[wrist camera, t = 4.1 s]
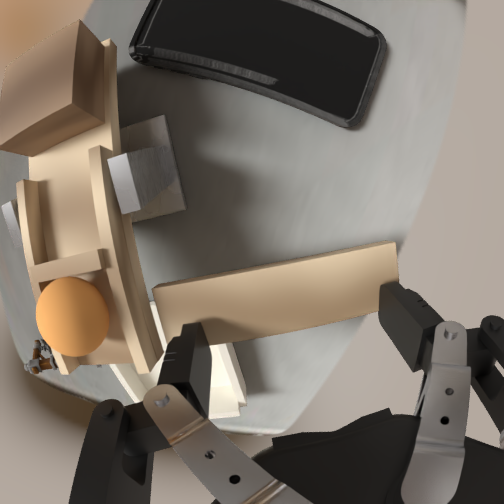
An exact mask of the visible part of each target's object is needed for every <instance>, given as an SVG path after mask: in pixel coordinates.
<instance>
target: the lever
mask: <svg viewBox="0 0 504 504" xmlns="http://www.w3.org/2000/svg"><path fill="white" fill-rule="evenodd" d="M0 150H3V151H7V152H12V153H16V154H20V155H25V156H29V178H30V180H24V179H23V180H21V181H19V182H18V183H16V186H17V200H18V211H19V220H20V228H21V235H22V241H23V247H24V253H25V258H26V263H27V268H28V273H29V277H30V281H31V285H32V289H33V293H34V297H35V301H36V304H37V303H38V299H39V297H40V295H41V293H42V292H43V290H44V289H45V288H46V287H47V286H48V285H49V284H50V283H51V282H53V281H54V280H56V279H59V278H62V277H78V278H82V279H84V280H86V281H88V282H90V283H91V284H93V285H94V286H95V287H96V288H97V289H98V290H99V291H100V293H101V294H102V296H103V297H104V299H105V301H106V304H107V307H108V311H109V328H108V332H107V335H106V337H105V339H104V341H103V342H102V344H101V345H100V346H99V347H98V348H97V349H96V350H95V351H93V352H91V353H90V354H87V355H84V356H78V357H72V356H66V355H63V354H61V353H59V352H57V351H55V350H54V349H53V348H51V350H52V352H53V355H54V358H55V360H56V363H57V365H58V367H59V370H60V372H61V374H68V375H69V374H70V373H71V372H73V371H74V370H75V369H76V368H77V367H78V366H79V365H99V364H125V363H134V364H135V367H136V369H137V372H138V374H146V373H150V372H151V371H152V369H153V368H154V366H155V365H156V363H157V361H159V360H160V358H161V357H162V355H163V354H164V350H163V347H162V344H161V340H160V337H159V334H158V331H157V327H156V324H155V320H154V317H153V313H152V310H151V306H150V302H149V298H148V294H147V291H146V287H145V282H144V278H143V274H142V270H141V266H140V261H139V256H138V252H137V247H136V242H135V237H134V232H133V227H132V221H131V216H130V213H126V214H122V213H121V209H120V206H119V202H118V199H117V195H116V192H115V188H114V184H113V181H112V177H111V173H110V169H109V165H108V161H107V159H110V158H113V157H116V156H119V155H122V152H121V142H120V131H119V118H118V101H117V46H116V45H115V44H114V43H113V42H112V40H111V39H107V40H105V41H103V42H100V41H99V40H98V39H97V38H96V36H95V35H94V34H93V33H92V32H91V31H90V30H89V29H88V28H87V27H86V26H85V24H84V23H83V22H82V21H81V20H80V19H79V20H78V21H76V22H74V23H72V24H70V25H68V26H66V27H65V28H63V29H61V30H60V31H58V32H56V33H54V34H52V35H51V36H49V37H48V38H46V39H44V40H43V41H41V42H40V43H38V44H37V45H35V46H34V47H32V48H31V49H29V50H28V51H26V52H25V53H23V54H22V55H21V56H19V57H18V58H16V59H15V60H14V61H12V62H11V63H10V64H9V65H8V66H6V70H5V75H4V80H3V86H2V91H1V98H0ZM393 281H397V282H398V283H399V274H398V263H397V253H396V244H395V242H392V241H381V242H376V243H371V244H366V245H362V246H357V247H352V248H347V249H342V250H337V251H332V252H327V253H322V254H317V255H312V256H307V257H301V258H296V259H291V260H286V261H281V262H276V263H270V264H265V265H260V266H255V267H249V268H244V269H239V270H233V271H228V272H222V273H217V274H212V275H206V276H201V277H195V278H189V279H184V280H178V281H173V282H167V283H161V284H158V285H156V286H155V287H154V288H152V293H153V296H154V300H155V304H156V308H157V312H158V315H159V319H160V322H161V326H162V329H163V333H164V336H165V339H166V343H167V345H168V343H169V342H170V341H171V340H172V338H173V337H176V336H180V334H181V330H182V326H183V324H187V323H194V322H201V324H202V326H203V329H204V332H205V335H206V338H207V341H208V343H209V346H211V345H218V344H225V343H232V342H238V341H244V340H250V339H256V338H262V337H267V336H273V335H278V334H283V333H288V332H293V331H298V330H303V329H308V328H312V327H317V326H321V325H325V324H330V323H334V322H338V321H342V320H346V319H350V318H354V317H358V316H362V315H366V314H370V313H373V312H377V311H379V290H380V286H381V285H382V284H386V283H390V282H393Z"/></svg>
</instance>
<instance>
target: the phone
mask: <svg viewBox="0 0 504 504" xmlns="http://www.w3.org/2000/svg"><path fill="white" fill-rule="evenodd" d="M386 47H387V44H386V39H385V38H384V36H383V34H382V33H381V32H380V31H379V30H378V29H376V28H375V27H373V26H371V25H369V24H367V23H366V22H364V21H362V20H360V19H358V18H356V17H354V16H352V15H350V14H348V13H346V12H344V11H342V10H340V9H338V8H336V7H333V6H331V5H329V4H327V3H324V2H322V1H320V0H150V2H149V4H148V6H147V8H146V10H145V12H144V14H143V16H142V18H141V20H140V22H139V25H138V27H137V29H136V31H135V33H134V36H133V38H132V40H131V42H130V46H129V54H130V56H131V58H132V59H133V60H135V61H136V62H138V63H140V64H143V65H148V66H154V68H160V69H163V68H164V69H169V70H170V71H173V72H178V73H182V74H186V73H187V74H190V76H194V77H198V78H202V79H203V77H204V78H207V79H211V80H215V81H219V82H222V83H226V84H229V85H232V86H236V87H239V88H242V89H245V90H248V91H251V92H254V93H257V94H260V95H263V96H266V97H269V98H271V99H274V100H277V101H280V102H282V103H285V104H288V105H290V106H293V107H295V108H298V109H300V110H303V111H305V112H307V113H310V114H312V115H314V116H317V117H319V118H321V119H324V120H326V121H328V122H330V123H332V124H335V125H337V126H340V127H352V126H355V125H357V124H358V123H359V122H360V121H361V119H362V117H363V115H364V112H365V109H366V107H367V104H368V101H369V98H370V96H371V93H372V90H373V87H374V84H375V81H376V78H377V75H378V73H379V70H380V67H381V64H382V61H383V58H384V54H385V51H386Z"/></svg>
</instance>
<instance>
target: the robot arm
mask: <svg viewBox="0 0 504 504" xmlns="http://www.w3.org/2000/svg"><path fill="white" fill-rule="evenodd" d="M378 316H379V321H380V324H381V326H382V327H383V329H384V330H385V332H386V333H387V334H388V336H389V337H390V339H391V340H392V342H393V343H394V345H395V346H396V348H397V349H398V351H399V352H400V354H401V355H402V357H403V358H404V360H405V361H406V363H407V364H408V365H409V367H410V369H411V370H412V372H416V371H418V370H421V369H422V370H423V371H424V375H423V378H422V383H421V387H420V392H419V396H418V400H417V404H416V408H415V412H414V415H404V414H396V415H392V414H391V411H390V409H389V408H386V409H384V410H381V411H378V412H375V413H372V414H369V415H366V416H363V417H361V418H359V419H357V420H355V421H354V422H352V423H350V424H348V425H347V426H344V427H342V428H341V429H339V430H336V431H332V432H301V433H297V434H292V435H286V436H280V437H275V438H272V442H273V446H271V447H269V448H266V449H264V450H262V451H260V452H259V453H257V454H255V455H254V456H253V457H252V458H250V457H248V456H247V455H246V454H245V453H244V452H243V451H242V450H240V449H239V448H238V447H237V446H236V445H235V444H234V443H233V442H232V441H231V440H229V439H228V438H227V437H226V436H225V435H224V434H223V433H222V432H221V431H220V430H219V429H218V428H217V427H216V426H215V425H214V424H213V423H212V422H211V421H210V420H209V403H210V386H211V372H212V354H211V349H210V346H209V343H208V341H207V338H206V335H205V332H204V329H203V326H202V324H201V322H194V323H187V324H183V326H182V330H181V334H180V336H176V337H173V338H172V340H171V341H170V342H169V343H168V345H167V348H166V351H165V355H164V359H163V363H162V366H161V370H160V374H159V378H158V382H157V386H155V387H153V388H151V389H150V390H149V391H148V392H147V393H146V394H145V396H144V398H143V401H141V402H138V403H135V404H131V405H128V406H123V404H122V403H121V402H120V401H118V400H115V399H108V400H105V401H103V402H101V403H99V404H98V405H97V406H96V407H95V409H94V411H93V413H92V416H91V419H90V422H89V426H88V429H87V433H86V436H85V439H84V443H83V446H82V450H81V454H80V457H79V461H78V465H77V469H76V472H75V477H74V481H73V485H72V490H71V494H70V499H69V504H150V496H151V495H150V494H151V483H152V482H151V481H152V470H153V460H154V452H155V451H159V450H162V449H166V448H169V447H172V448H173V449H174V450H175V451H176V452H177V454H178V455H179V457H180V458H181V459H182V460H183V462H184V463H185V464H186V465H187V466H188V468H189V469H190V470H191V471H192V472H193V474H194V475H195V476H196V477H197V478H198V479H199V480H200V482H201V483H202V484H203V485H204V486H205V487H206V488H207V489H208V490H209V492H210V493H211V494H212V495H213V496H214V497H215V498H216V499H215V500H214V501H213V502H212V503H211V504H504V377H503V376H502V374H501V373H500V372H499V371H498V369H497V368H496V366H495V362H496V360H497V361H498V362H499V364H500V365H501V366H502V367H503V369H504V319H502V318H501V317H498V316H493V315H490V316H487V317H485V318H483V320H482V322H481V325H480V328H473V329H465V328H464V326H462V325H461V324H459V323H457V322H454V321H444V320H443V319H442V317H441V316H440V315H439V314H438V313H437V312H436V311H435V310H434V309H433V308H432V307H431V306H429V305H428V303H427V302H426V301H425V300H423V298H422V297H421V296H420V295H419V294H418V293H416V292H414V291H412V290H410V289H404V288H403V287H402V286H401V285H400V284H399V283H398V282H397V281H393V282H390V283H386V284H382V285H381V286H380V290H379V311H378ZM470 384H471V386H472V387H473V389H474V390H475V392H476V394H477V395H478V397H479V398H480V400H481V402H482V403H483V405H484V406H485V408H486V410H487V411H488V413H489V415H490V416H491V418H492V420H493V421H494V423H495V425H496V427H497V428H498V430H499V432H500V434H501V435H500V447H499V448H497V447H494V446H491V445H488V444H485V443H483V442H480V441H477V440H475V439H472V438H469V437H467V436H465V432H466V425H467V417H468V408H469V398H470Z"/></svg>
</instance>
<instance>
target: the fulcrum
mask: <svg viewBox="0 0 504 504" xmlns="http://www.w3.org/2000/svg"><path fill="white" fill-rule="evenodd" d="M119 131H120V142H121V152H122V155H119V156H116V157H113V158H110V159H107V161H108V165H109V169H110V173H111V177H112V181H113V184H114V188H115V192H116V195H117V199H118V202H119V206H120V209H121V213H122V214H126V213H130V216H131V221H132V223H133V222H137V221H141V220H145V219H149V218H153V217H157V216H161V215H166V214H170V213H174V212H179V211H183V210H186V208H187V205H186V201H185V197H184V193H183V189H182V185H181V181H180V176H179V172H178V168H177V163H176V159H175V155H174V150H173V146H172V141H171V137H170V132H169V127H168V122H167V117H166V115H162V116H158V117H155V118H152V119H148V120H145V121H142V122H139V123H136V124H133V125H130V126H127V127H124V128H121V129H119ZM1 207H2V210H3V213H4V217H5V220H6V223H7V226H8V229H9V232H10V235H11V238H12V240H13V243H14V246H15V248H17V247H20V246H23V241H22V235H21V228H20V220H19V211H18V200H17V198H16V199H14V200H12V201H10V202H8V203H6V204H4V205H2V206H1Z"/></svg>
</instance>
